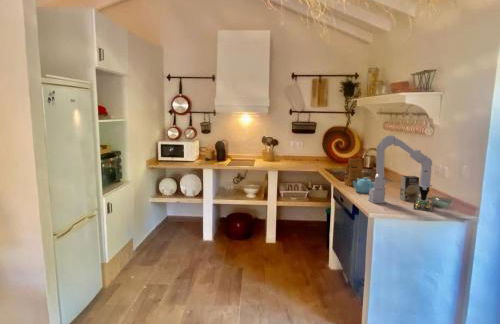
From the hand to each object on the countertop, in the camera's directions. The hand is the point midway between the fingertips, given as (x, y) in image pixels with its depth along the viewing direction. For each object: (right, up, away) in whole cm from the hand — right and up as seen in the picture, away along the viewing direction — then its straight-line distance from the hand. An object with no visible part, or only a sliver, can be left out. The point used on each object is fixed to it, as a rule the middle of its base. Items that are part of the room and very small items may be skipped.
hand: (423, 199), depth 203 cm
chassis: (0, -5, +1) cm, 6 cm away
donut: (+9, -1, +30) cm, 32 cm away
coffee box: (0, -3, +20) cm, 20 cm away
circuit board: (0, -2, 0) cm, 2 cm away
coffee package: (-24, +4, +63) cm, 68 cm away
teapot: (-22, +1, +42) cm, 47 cm away
